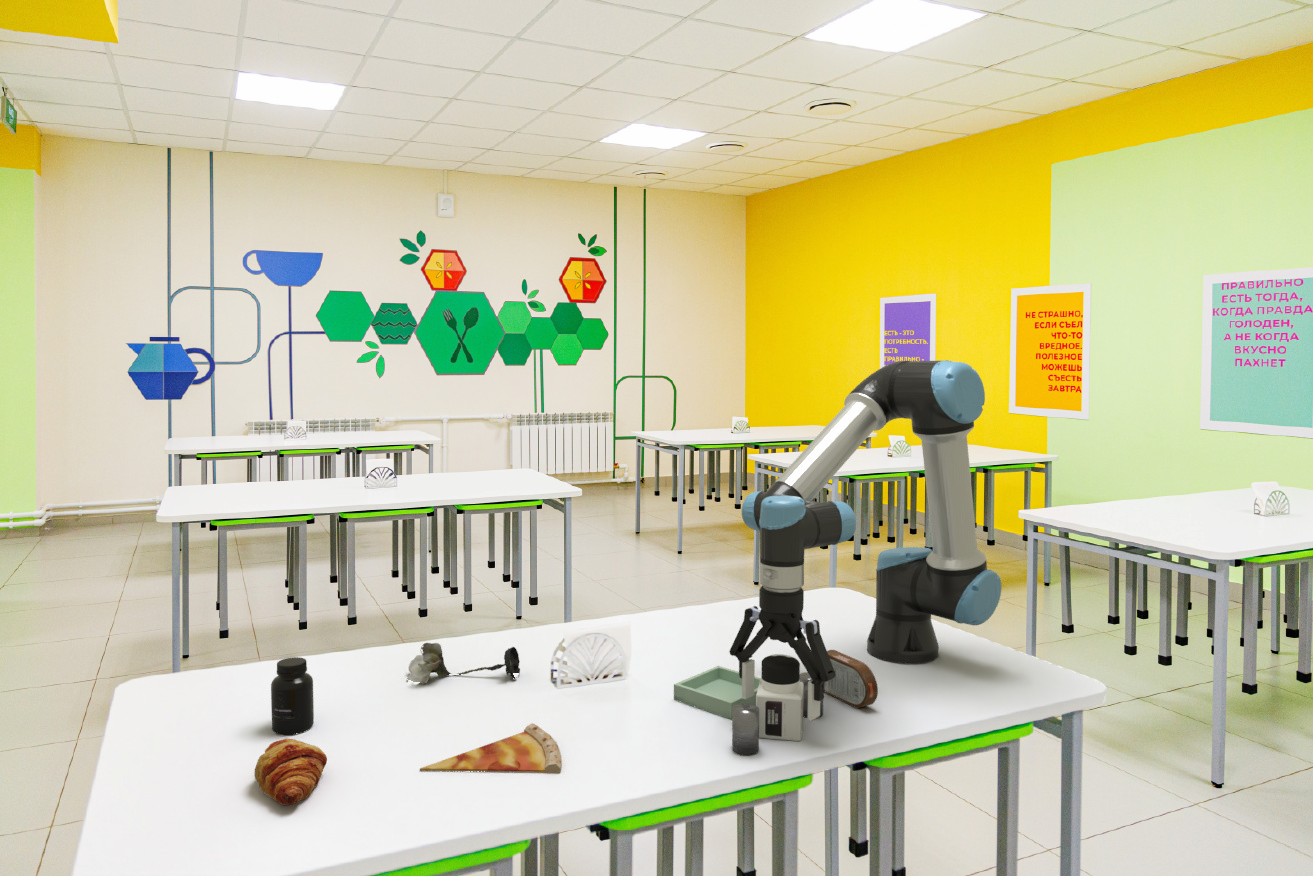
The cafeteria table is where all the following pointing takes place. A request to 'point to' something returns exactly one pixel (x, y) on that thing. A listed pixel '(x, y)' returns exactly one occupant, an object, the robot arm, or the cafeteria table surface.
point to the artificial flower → (435, 663)
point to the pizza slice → (508, 755)
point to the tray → (714, 691)
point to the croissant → (289, 770)
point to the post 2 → (805, 679)
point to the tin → (851, 681)
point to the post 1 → (745, 729)
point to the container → (780, 698)
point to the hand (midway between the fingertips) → (780, 707)
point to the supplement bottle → (292, 697)
